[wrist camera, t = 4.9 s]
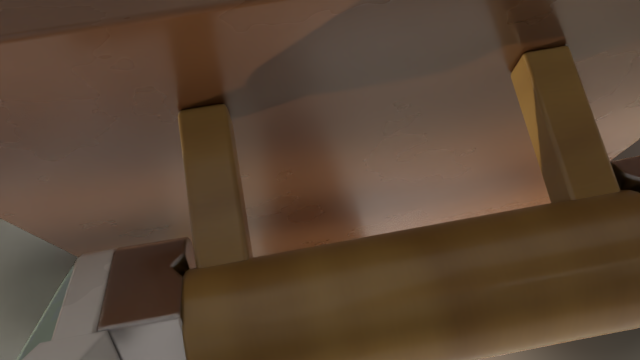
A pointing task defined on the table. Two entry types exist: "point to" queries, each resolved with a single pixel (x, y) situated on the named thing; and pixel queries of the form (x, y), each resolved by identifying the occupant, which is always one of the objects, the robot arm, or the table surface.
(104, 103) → the lid
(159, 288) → the robot arm
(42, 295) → the table surface
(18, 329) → the table surface
